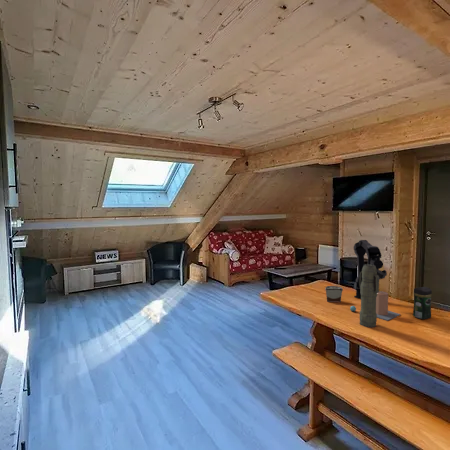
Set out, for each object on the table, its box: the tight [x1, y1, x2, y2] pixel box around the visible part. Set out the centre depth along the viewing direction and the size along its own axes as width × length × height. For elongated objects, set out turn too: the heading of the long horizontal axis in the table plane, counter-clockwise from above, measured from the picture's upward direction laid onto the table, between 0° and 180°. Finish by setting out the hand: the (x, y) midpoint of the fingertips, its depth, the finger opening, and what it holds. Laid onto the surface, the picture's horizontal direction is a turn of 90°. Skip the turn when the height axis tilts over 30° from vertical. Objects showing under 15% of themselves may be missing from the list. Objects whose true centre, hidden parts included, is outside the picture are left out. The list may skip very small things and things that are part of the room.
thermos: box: [359, 263, 380, 328], centre depth 173 cm, size 9×12×35 cm
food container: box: [324, 285, 344, 303], centre depth 216 cm, size 12×6×10 cm, turn 84°
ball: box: [349, 305, 357, 312], centre depth 195 cm, size 4×4×4 cm
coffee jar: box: [412, 286, 433, 320], centre depth 184 cm, size 10×8×19 cm
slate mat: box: [377, 310, 401, 322], centre depth 190 cm, size 16×16×1 cm
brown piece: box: [376, 290, 389, 315], centre depth 189 cm, size 7×7×13 cm
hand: (371, 288), depth 200 cm, fingers open, 9 cm apart
